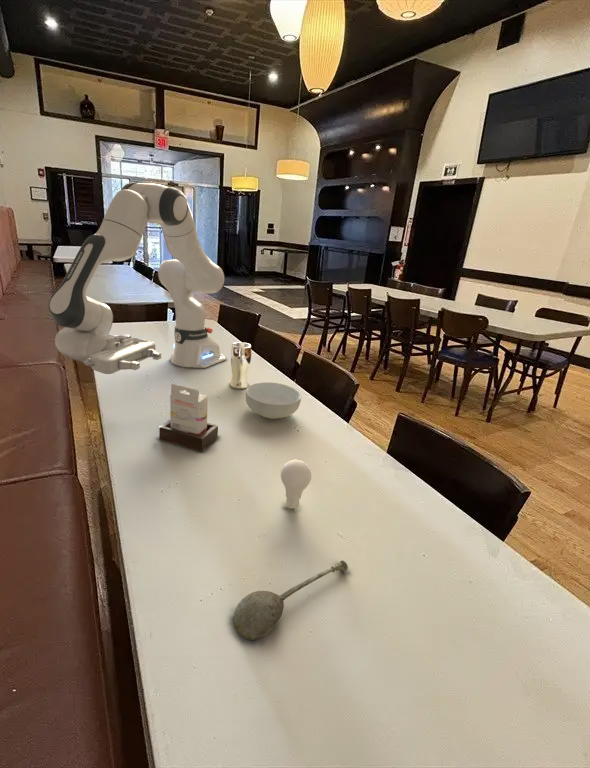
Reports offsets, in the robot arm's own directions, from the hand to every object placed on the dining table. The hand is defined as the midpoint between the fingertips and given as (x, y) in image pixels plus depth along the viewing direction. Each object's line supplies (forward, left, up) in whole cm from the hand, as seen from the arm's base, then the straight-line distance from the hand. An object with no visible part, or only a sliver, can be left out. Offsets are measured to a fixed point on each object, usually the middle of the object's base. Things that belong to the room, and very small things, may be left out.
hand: (149, 361), depth 109 cm
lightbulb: (0, +50, -18) cm, 53 cm away
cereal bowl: (-31, +18, -18) cm, 40 cm away
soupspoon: (+17, +64, -18) cm, 69 cm away
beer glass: (-39, -4, -18) cm, 43 cm away
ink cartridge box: (-2, +14, -17) cm, 23 cm away
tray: (-2, +14, -18) cm, 23 cm away
